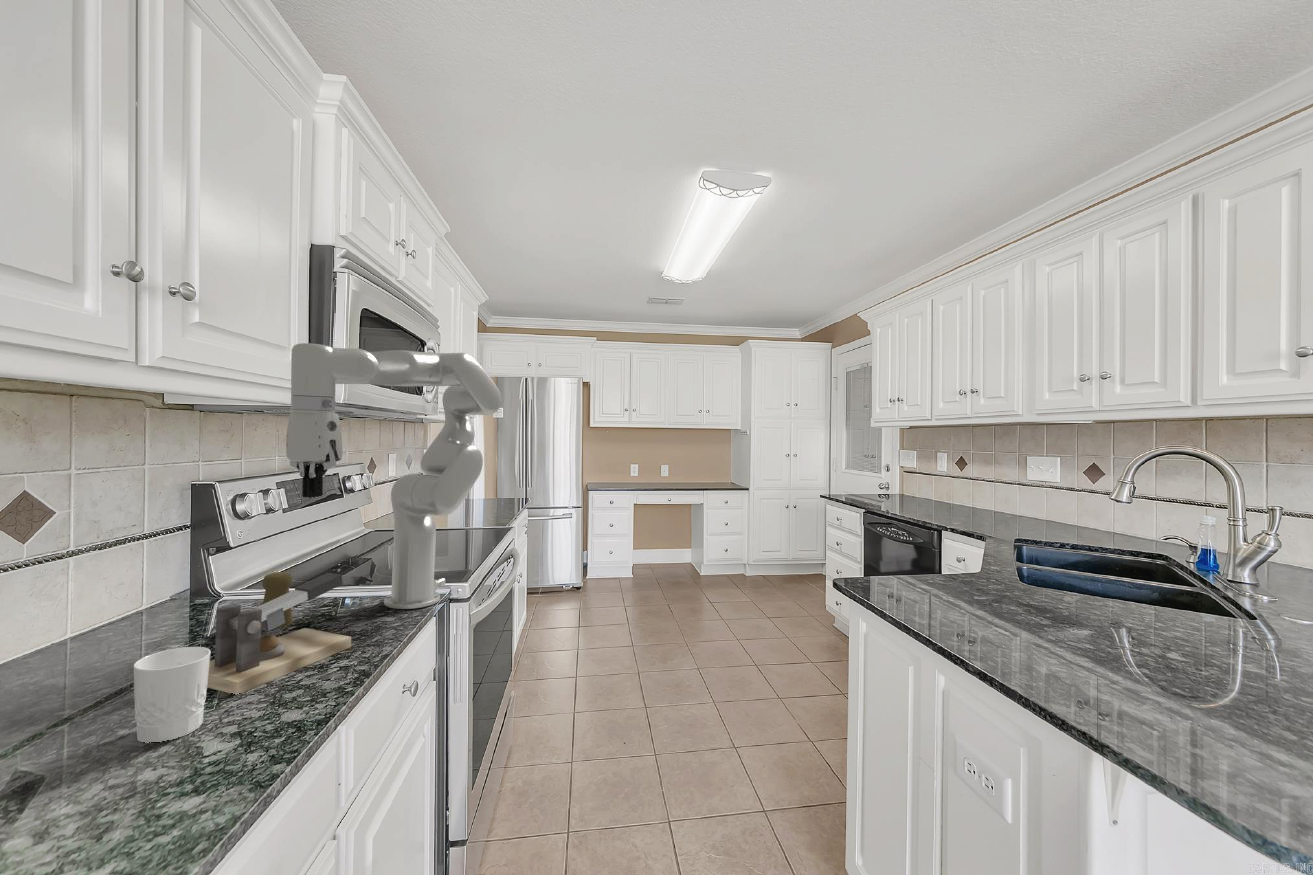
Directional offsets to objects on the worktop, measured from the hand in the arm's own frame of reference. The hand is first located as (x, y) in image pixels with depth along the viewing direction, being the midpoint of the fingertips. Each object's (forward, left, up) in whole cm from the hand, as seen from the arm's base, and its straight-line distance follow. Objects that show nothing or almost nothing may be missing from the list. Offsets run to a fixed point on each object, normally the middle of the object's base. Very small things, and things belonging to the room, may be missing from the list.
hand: (312, 496), depth 108 cm
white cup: (+32, +14, -29) cm, 45 cm away
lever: (+8, +6, -21) cm, 23 cm away
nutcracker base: (+11, +6, -28) cm, 31 cm away
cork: (-2, -12, -29) cm, 31 cm away
